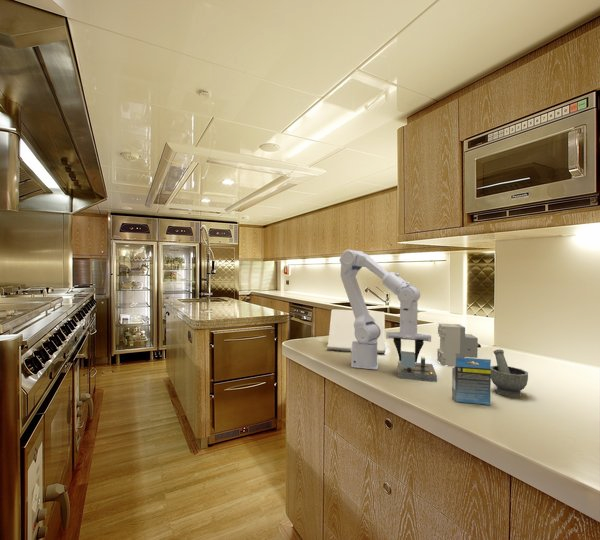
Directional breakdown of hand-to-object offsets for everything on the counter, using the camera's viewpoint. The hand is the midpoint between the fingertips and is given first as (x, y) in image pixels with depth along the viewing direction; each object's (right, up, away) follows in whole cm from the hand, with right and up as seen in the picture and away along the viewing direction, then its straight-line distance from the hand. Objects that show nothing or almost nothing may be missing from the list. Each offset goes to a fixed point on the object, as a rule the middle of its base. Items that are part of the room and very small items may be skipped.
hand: (407, 360), depth 111 cm
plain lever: (+7, -3, +4) cm, 8 cm away
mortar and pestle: (+25, -6, -14) cm, 29 cm away
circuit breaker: (+25, -6, +16) cm, 30 cm away
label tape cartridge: (+10, -5, -22) cm, 25 cm away
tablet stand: (-11, -5, +38) cm, 40 cm away
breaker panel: (+4, -5, +2) cm, 6 cm away
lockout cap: (0, -1, 0) cm, 1 cm away
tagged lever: (0, -3, 0) cm, 3 cm away
